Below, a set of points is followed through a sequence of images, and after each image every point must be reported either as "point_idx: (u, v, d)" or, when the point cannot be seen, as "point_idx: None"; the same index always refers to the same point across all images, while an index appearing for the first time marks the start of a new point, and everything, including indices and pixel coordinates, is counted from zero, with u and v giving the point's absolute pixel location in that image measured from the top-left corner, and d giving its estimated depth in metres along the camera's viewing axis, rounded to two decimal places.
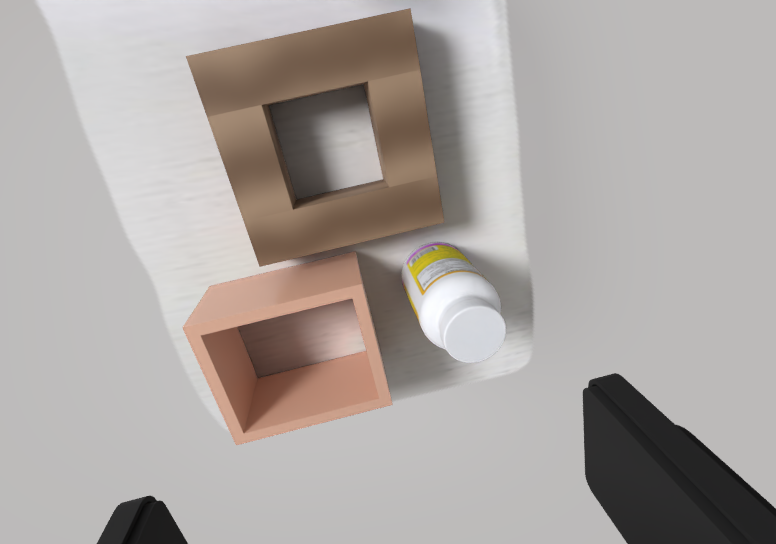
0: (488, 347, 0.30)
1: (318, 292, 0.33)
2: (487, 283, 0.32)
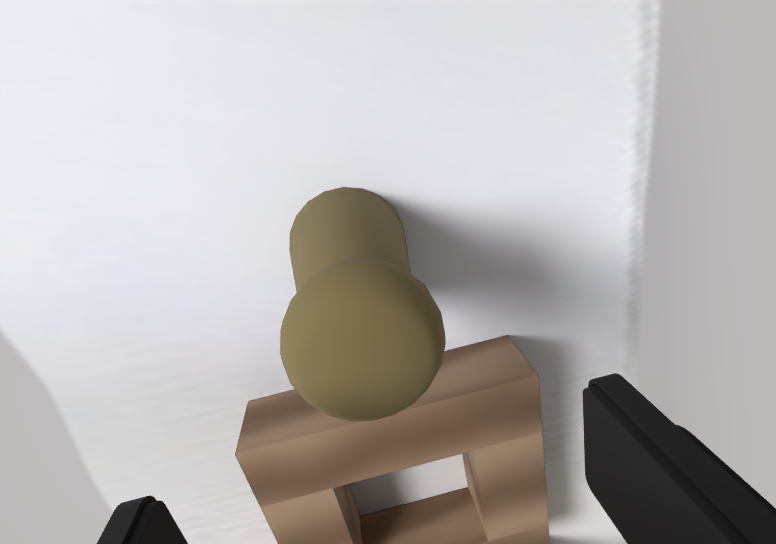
0: None
1: None
2: None
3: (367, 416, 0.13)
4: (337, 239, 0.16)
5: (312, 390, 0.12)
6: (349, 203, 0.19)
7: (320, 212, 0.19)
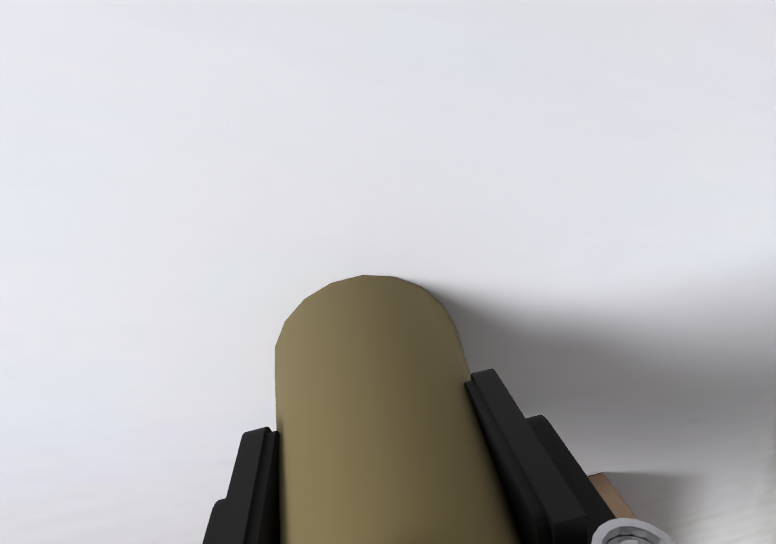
0: None
1: None
2: None
3: None
4: (360, 434, 0.08)
5: None
6: (375, 316, 0.11)
7: (324, 335, 0.11)
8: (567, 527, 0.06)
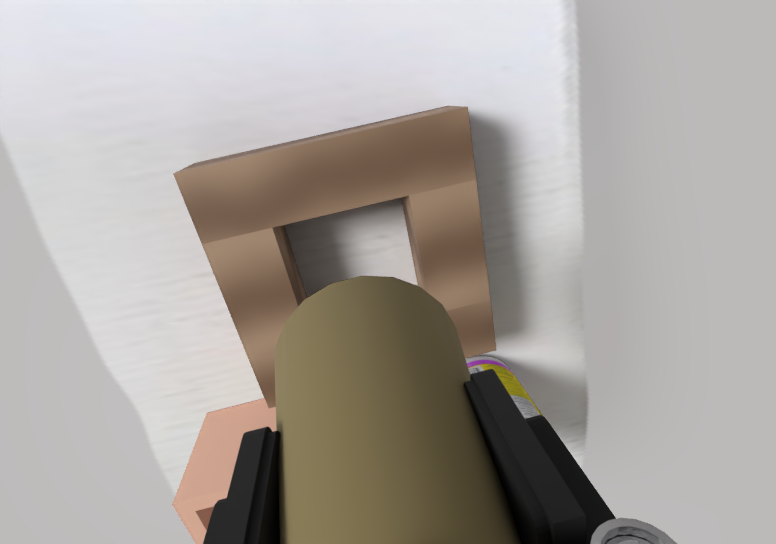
0: None
1: None
2: None
3: None
4: (361, 435, 0.08)
5: None
6: (375, 317, 0.11)
7: (324, 336, 0.11)
8: (566, 527, 0.06)
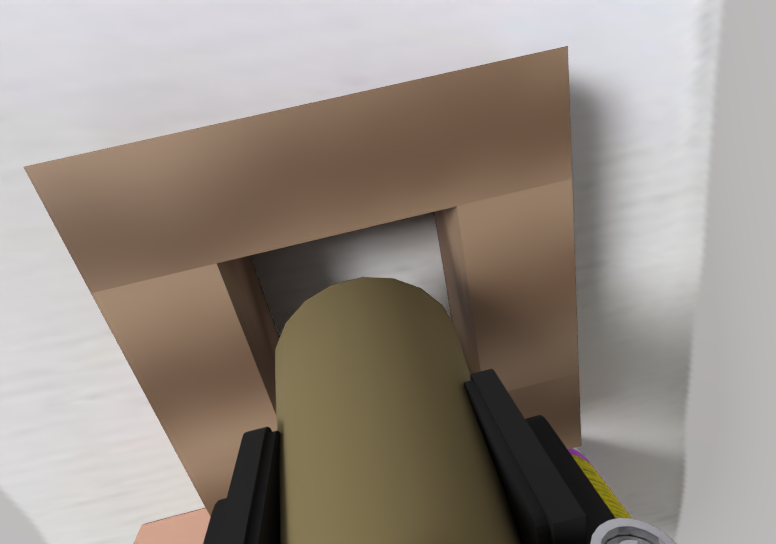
0: None
1: None
2: None
3: None
4: (361, 437, 0.08)
5: None
6: (376, 319, 0.11)
7: (325, 338, 0.11)
8: (566, 527, 0.06)
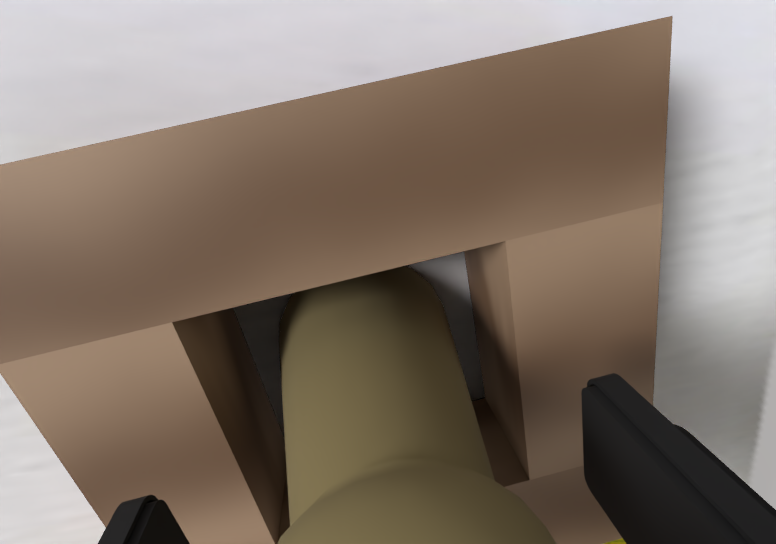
0: None
1: None
2: None
3: None
4: (357, 381, 0.09)
5: None
6: (370, 291, 0.12)
7: (325, 307, 0.12)
8: None
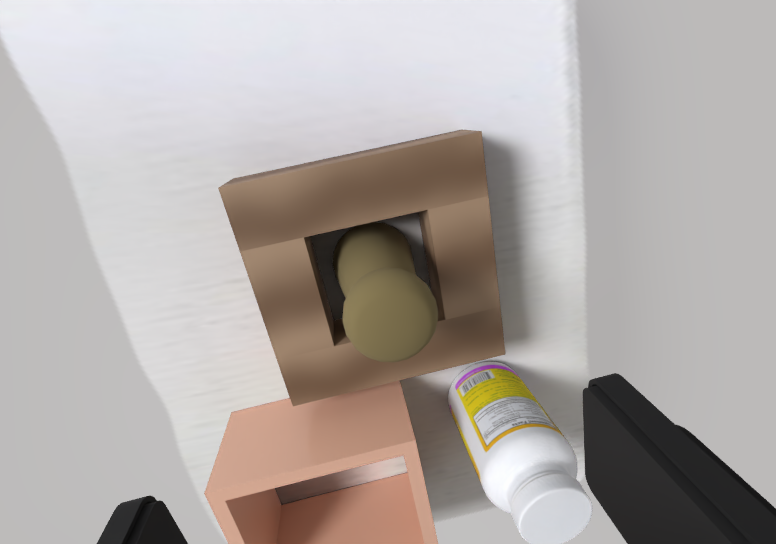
0: (570, 530, 0.26)
1: (364, 449, 0.28)
2: (563, 442, 0.27)
3: (392, 358, 0.22)
4: (372, 257, 0.25)
5: (362, 340, 0.22)
6: (376, 233, 0.29)
7: (357, 239, 0.28)
8: None
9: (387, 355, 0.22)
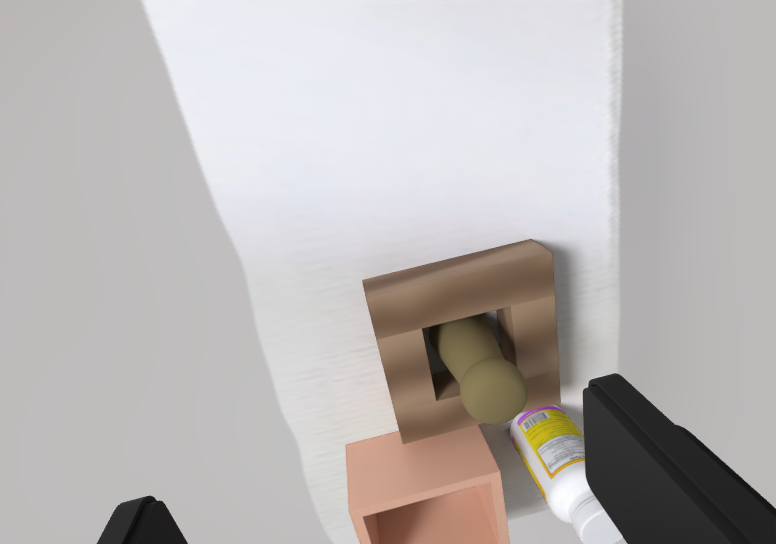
0: (615, 535, 0.36)
1: (462, 478, 0.38)
2: None
3: (497, 422, 0.32)
4: (473, 343, 0.35)
5: (479, 412, 0.32)
6: (468, 318, 0.39)
7: (454, 323, 0.38)
8: None
9: (494, 420, 0.32)
